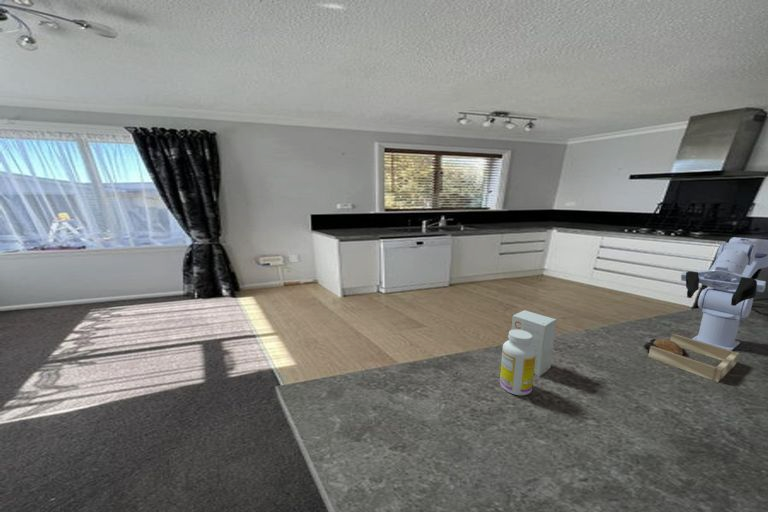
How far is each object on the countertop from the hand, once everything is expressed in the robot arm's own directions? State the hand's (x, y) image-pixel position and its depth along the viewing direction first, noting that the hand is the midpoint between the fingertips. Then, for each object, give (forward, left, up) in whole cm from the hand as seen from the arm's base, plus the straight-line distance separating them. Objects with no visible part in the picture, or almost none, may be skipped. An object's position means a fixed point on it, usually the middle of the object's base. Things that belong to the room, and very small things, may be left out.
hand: (710, 298), depth 75 cm
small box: (+39, -21, -18) cm, 48 cm away
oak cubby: (-1, -1, -18) cm, 18 cm away
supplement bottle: (+50, -17, -18) cm, 56 cm away
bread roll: (-1, -7, -18) cm, 20 cm away
